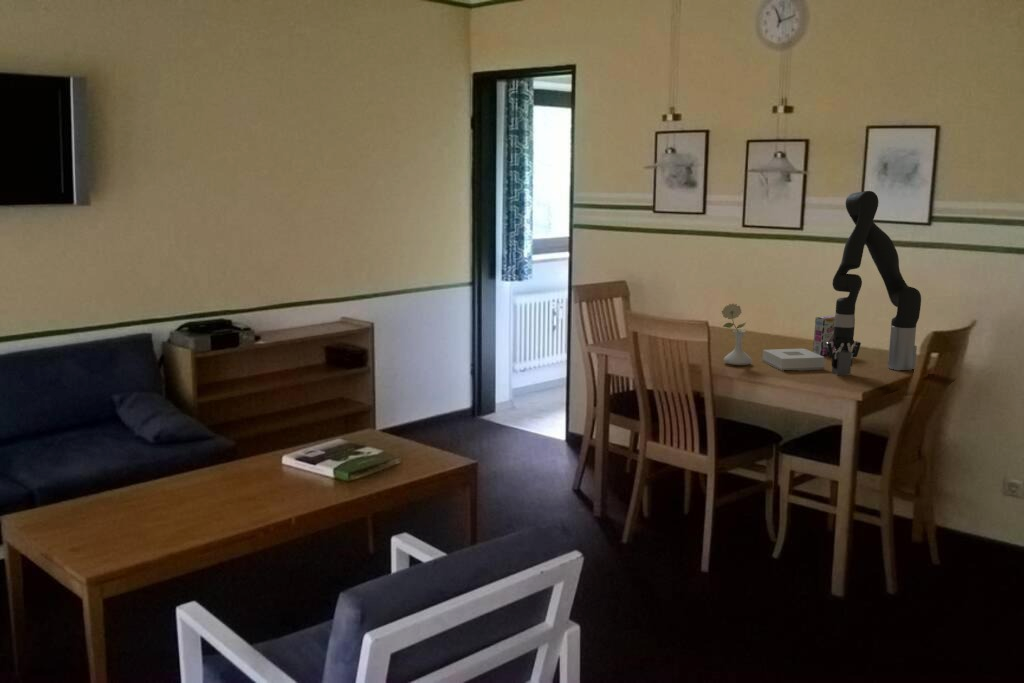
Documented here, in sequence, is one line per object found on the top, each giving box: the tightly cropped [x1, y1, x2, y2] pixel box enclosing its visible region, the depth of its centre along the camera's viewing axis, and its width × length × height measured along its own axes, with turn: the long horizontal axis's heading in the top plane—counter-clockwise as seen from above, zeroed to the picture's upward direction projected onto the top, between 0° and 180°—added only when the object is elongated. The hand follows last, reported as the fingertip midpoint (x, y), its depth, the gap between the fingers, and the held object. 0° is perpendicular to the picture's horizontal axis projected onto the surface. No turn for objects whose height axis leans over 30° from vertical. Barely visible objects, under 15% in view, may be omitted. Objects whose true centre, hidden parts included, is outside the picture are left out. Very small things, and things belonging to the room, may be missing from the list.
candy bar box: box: [812, 314, 835, 357], centre depth 401 cm, size 11×5×16 cm, turn 123°
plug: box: [831, 351, 852, 376], centre depth 365 cm, size 5×5×9 cm
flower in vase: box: [721, 303, 753, 366], centre depth 381 cm, size 13×11×25 cm
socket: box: [762, 348, 826, 372], centre depth 380 cm, size 18×18×5 cm
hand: (841, 367), depth 366 cm, fingers closed on plug, 5 cm apart
